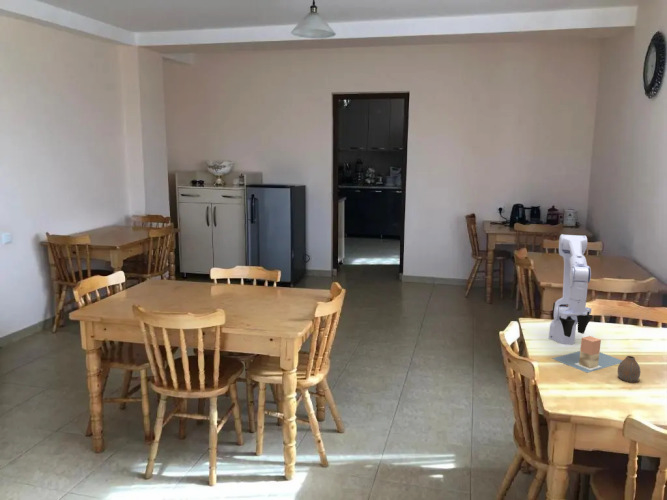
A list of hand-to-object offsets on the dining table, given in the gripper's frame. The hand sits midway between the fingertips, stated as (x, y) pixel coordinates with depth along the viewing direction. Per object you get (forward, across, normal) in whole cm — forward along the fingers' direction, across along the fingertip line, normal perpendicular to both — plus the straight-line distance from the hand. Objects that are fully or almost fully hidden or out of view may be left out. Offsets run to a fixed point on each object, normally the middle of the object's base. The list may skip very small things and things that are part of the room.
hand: (574, 334), depth 208 cm
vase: (+11, +2, -21) cm, 24 cm away
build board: (+10, +5, -4) cm, 12 cm away
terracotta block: (+4, 0, -7) cm, 8 cm away
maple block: (+9, 0, -7) cm, 12 cm away
